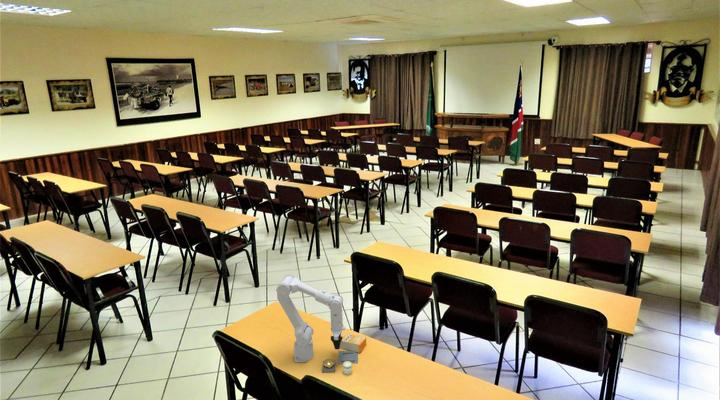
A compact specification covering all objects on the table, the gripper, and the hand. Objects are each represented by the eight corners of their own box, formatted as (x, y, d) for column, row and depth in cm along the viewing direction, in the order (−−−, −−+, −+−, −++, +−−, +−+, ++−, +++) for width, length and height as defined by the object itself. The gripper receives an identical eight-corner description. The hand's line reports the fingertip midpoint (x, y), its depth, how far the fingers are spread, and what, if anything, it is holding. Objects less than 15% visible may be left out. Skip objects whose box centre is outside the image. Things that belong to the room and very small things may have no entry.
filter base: (337, 365, 209) (337, 362, 208) (338, 352, 218) (338, 350, 218) (358, 365, 209) (358, 362, 208) (358, 352, 218) (357, 349, 218)
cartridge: (343, 375, 201) (342, 366, 199) (343, 370, 205) (343, 361, 203) (351, 375, 201) (351, 366, 199) (352, 369, 205) (351, 361, 203)
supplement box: (359, 344, 214) (336, 339, 220) (360, 353, 215) (336, 348, 221) (366, 337, 222) (343, 332, 227) (366, 345, 223) (344, 340, 228)
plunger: (323, 372, 203) (323, 365, 202) (324, 365, 208) (323, 358, 207) (333, 372, 203) (333, 365, 202) (334, 365, 208) (334, 358, 207)
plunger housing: (322, 374, 203) (322, 368, 202) (323, 365, 209) (323, 360, 208) (334, 374, 203) (334, 368, 202) (335, 365, 209) (335, 360, 208)
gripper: (344, 328, 199) (345, 353, 203) (345, 311, 213) (346, 335, 217) (329, 328, 199) (330, 353, 203) (331, 311, 213) (332, 335, 217)
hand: (337, 344), depth 210 cm, fingers open, 7 cm apart
